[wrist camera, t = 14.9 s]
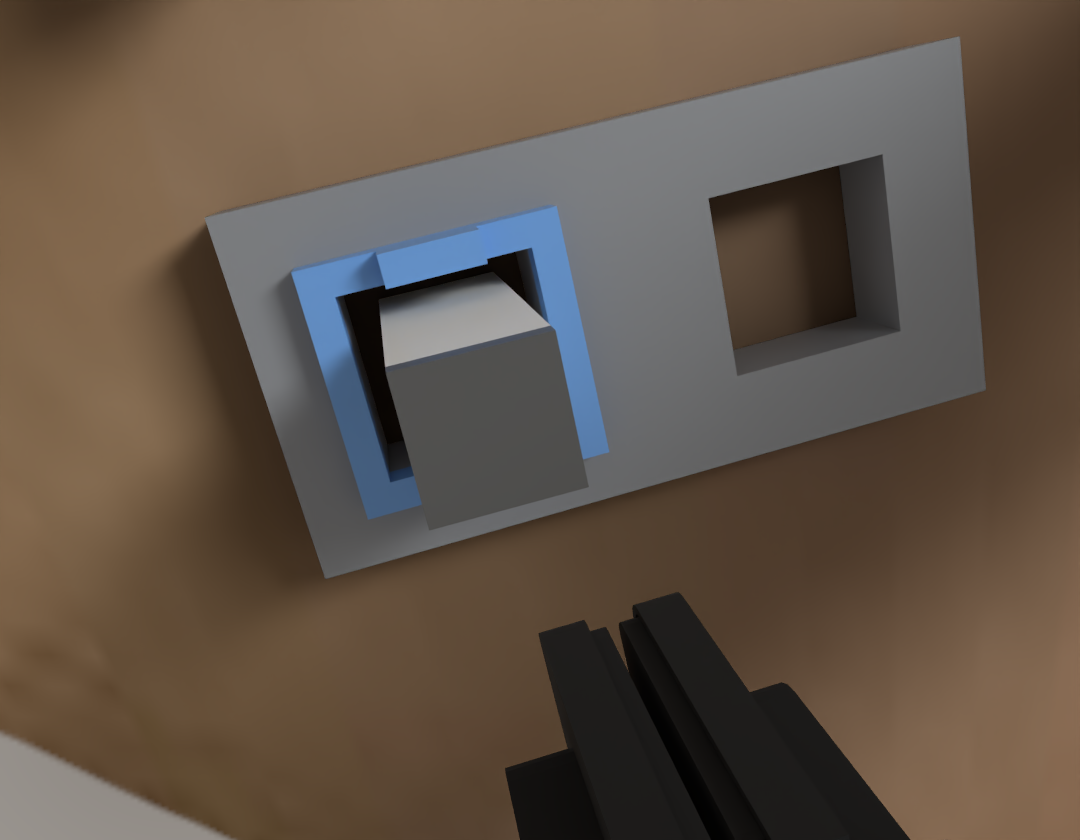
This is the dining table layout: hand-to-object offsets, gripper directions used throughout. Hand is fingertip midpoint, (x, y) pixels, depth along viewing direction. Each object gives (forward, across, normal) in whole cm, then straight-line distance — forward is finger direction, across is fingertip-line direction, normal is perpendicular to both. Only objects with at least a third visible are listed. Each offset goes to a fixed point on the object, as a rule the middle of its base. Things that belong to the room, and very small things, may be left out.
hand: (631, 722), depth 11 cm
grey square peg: (+23, 0, 0) cm, 23 cm away
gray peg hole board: (+23, -6, 0) cm, 24 cm away
